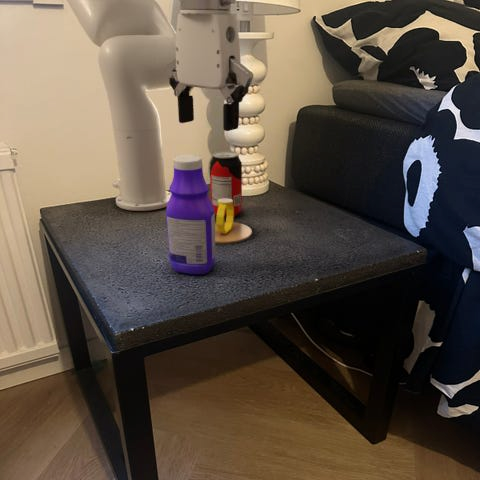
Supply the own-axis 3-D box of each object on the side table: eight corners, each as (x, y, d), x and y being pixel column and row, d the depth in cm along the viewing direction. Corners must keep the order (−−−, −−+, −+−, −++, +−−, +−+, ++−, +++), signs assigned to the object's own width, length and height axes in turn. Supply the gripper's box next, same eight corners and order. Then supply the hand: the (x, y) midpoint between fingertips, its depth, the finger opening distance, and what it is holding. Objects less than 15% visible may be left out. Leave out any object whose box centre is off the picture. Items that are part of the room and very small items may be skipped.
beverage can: (248, 213, 98) (248, 153, 92) (227, 221, 94) (226, 159, 88) (225, 206, 102) (224, 148, 95) (205, 214, 98) (202, 154, 91)
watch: (227, 238, 86) (226, 206, 83) (213, 236, 87) (211, 204, 83) (237, 226, 91) (237, 196, 88) (224, 225, 91) (223, 194, 88)
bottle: (219, 263, 78) (216, 154, 69) (210, 278, 73) (205, 163, 64) (177, 259, 79) (169, 151, 70) (165, 274, 75) (155, 160, 65)
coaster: (187, 235, 88) (187, 233, 88) (221, 220, 95) (221, 218, 95) (229, 248, 83) (229, 246, 83) (262, 231, 90) (262, 229, 90)
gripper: (267, 3, 68) (263, 129, 77) (179, 3, 77) (184, 116, 86) (236, 2, 63) (235, 136, 72) (145, 2, 72) (155, 122, 81)
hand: (208, 125), depth 79 cm, fingers open, 9 cm apart
